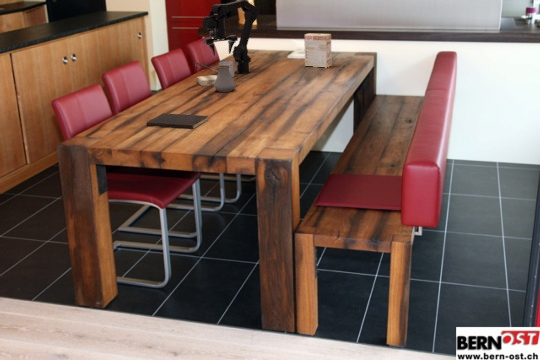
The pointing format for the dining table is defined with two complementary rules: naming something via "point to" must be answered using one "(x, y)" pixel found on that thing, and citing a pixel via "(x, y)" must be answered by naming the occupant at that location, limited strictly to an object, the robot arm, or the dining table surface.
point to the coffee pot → (222, 78)
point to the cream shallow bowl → (206, 80)
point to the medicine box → (231, 68)
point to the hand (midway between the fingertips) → (221, 54)
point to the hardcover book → (177, 121)
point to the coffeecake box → (317, 50)
